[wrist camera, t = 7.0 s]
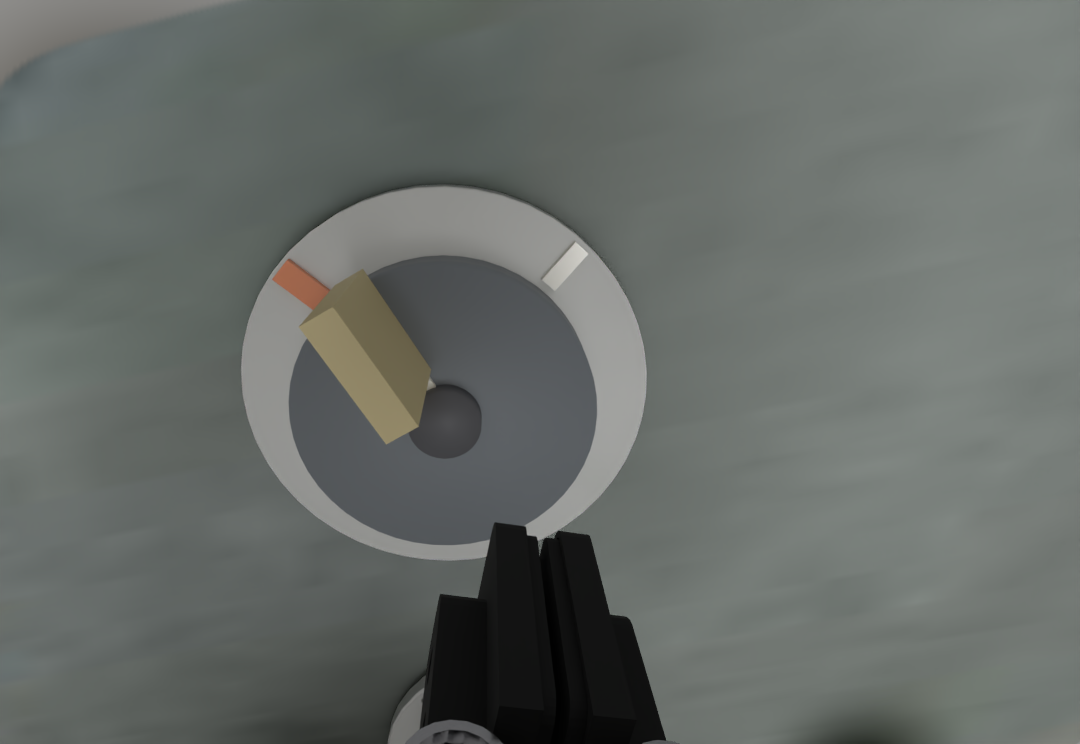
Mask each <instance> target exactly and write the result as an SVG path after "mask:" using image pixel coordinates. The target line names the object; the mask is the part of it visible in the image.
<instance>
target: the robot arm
mask: <svg viewBox="0 0 1080 744" xmlns="http://www.w3.org/2000/svg"><path fill="white" fill-rule="evenodd" d="M388 744H679V743H676V742H673V741H666V738H665V735H664V731H663V728H662V725H661V721H660V718H659V714H658V711H657V708H656V704H655V701H654V697H653V694H652V691H651V687H650V684H649V680H648V677H647V674H646V670H645V667H644V663H643V660H642V657H641V653H640V650H639V646H638V643H637V640H636V636H635V633H634V629H633V626H632V624H631V621H630V619H628V618H627V617H624V616H616V615H610V613H609V609H608V605H607V601H606V597H605V593H604V589H603V585H602V581H601V577H600V573H599V569H598V565H597V562H596V558H595V554H594V550H593V546H592V542H591V538H590V536H589V535H584V534H577V533H570V532H563V531H558V532H557V533H556V535H555V538H554V539H552V538H545V539H544V541H543V545H542V549H541V553H540V557H539V549H538V541H537V537H536V536H530V535H527V530H526V527H525V526H519V525H512V524H505V523H497V522H495V523H494V525H493V528H492V533H491V537H490V542H489V547H488V552H487V557H486V561H485V566H484V571H483V576H482V581H481V586H480V590H479V595H478V599H476V598H468V597H460V596H452V595H444V594H440V597H439V601H438V606H437V611H436V617H435V622H434V628H433V633H432V639H431V645H430V651H429V657H428V664H427V671H426V675H425V676H424V677H423V678H422V679H421V680H420V681H418V682H417V683H416V684H415V685H414V686H413V687H412V688H411V689H410V690H409V691H408V692H407V694H406V695H405V696H404V698H403V699H402V700H401V702H400V703H399V705H398V707H397V709H396V711H395V714H394V716H393V718H392V721H391V727H390V732H389V738H388Z"/></svg>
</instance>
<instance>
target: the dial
mask: <svg viewBox="0 0 1080 744" xmlns="http://www.w3.org/2000/svg"><path fill="white" fill-rule="evenodd" d="M299 328H300V329H301V331H302V332H303V333H304V335H305V336H306V337H307V339H306V341H305V342H304V344H303V346H302V348H301V350H300V353H299V355H298V357H297V360H296V362H295V365H294V369H293V373H292V377H291V381H290V390H289V401H288V403H289V419H290V425H291V430H292V434H293V439H294V442H295V444H296V447H297V450H298V453H299V455H300V457H301V459H302V461H303V463H304V465H305V467H306V469H307V471H308V472H309V474H310V475H311V477H312V478H313V479H314V481H315V482H316V484H317V485H318V486H319V488H320V489H321V490H322V491H323V492H324V493H325V494H326V495H327V496H328V497H329V499H330V500H331V501H332V502H334V503H335V504H336V505H337V506H338V507H340V508H341V509H342V510H343V511H344V512H345V513H347V514H348V515H350V516H351V517H353V518H354V519H356V520H358V521H359V522H361V523H362V524H364V525H366V526H368V527H370V528H372V529H374V530H376V531H378V532H381V533H384V534H386V535H389V536H392V537H394V538H398V539H402V540H406V541H410V542H414V543H422V544H429V545H461V544H471V543H476V542H481V541H486V540H490V537H491V533H492V528H493V525H494V523H495V522H497V523H505V524H512V525H519V526H525V525H526V524H528V523H530V522H531V521H533V520H535V519H536V518H538V517H539V516H540V515H542V514H543V513H544V512H546V511H547V510H548V509H549V508H551V507H552V506H553V505H554V504H555V503H556V502H557V501H558V500H559V499H560V498H561V497H562V496H563V495H564V494H565V493H566V491H567V490H568V489H569V487H570V486H571V485H572V484H573V482H574V481H575V479H576V478H577V476H578V474H579V473H580V471H581V469H582V468H583V466H584V464H585V461H586V459H587V457H588V454H589V452H590V449H591V446H592V442H593V438H594V434H595V429H596V420H597V395H596V389H595V383H594V378H593V375H592V371H591V368H590V365H589V362H588V359H587V357H586V354H585V352H584V349H583V347H582V344H581V342H580V340H579V338H578V336H577V334H576V332H575V330H574V328H573V326H572V325H571V323H570V322H569V320H568V319H567V317H566V316H565V314H564V313H563V311H562V310H561V309H560V308H559V307H558V306H557V305H556V304H555V302H554V301H553V300H552V299H551V298H550V297H549V296H548V295H546V294H545V293H544V292H543V291H542V290H541V289H539V288H538V287H537V286H536V285H534V284H533V283H531V282H530V281H528V280H527V279H525V278H524V277H522V276H520V275H519V274H516V273H514V272H512V271H510V270H508V269H506V268H504V267H502V266H499V265H496V264H493V263H490V262H487V261H484V260H479V259H474V258H468V257H463V256H447V255H439V256H424V257H418V258H413V259H408V260H403V261H400V262H397V263H394V264H391V265H388V266H385V267H383V268H381V269H379V270H377V271H375V272H373V273H371V274H369V275H367V274H366V273H365V271H364V270H363V269H361V270H360V271H358V272H356V273H355V274H353V275H351V276H349V277H348V278H346V279H344V280H343V281H341V282H339V283H338V284H336V285H335V286H334V287H333V288H332V289H331V290H330V291H329V292H328V294H327V295H326V296H325V297H324V298H323V299H322V301H321V302H320V303H319V304H318V305H317V306H316V307H315V309H314V310H313V311H312V312H311V313H310V314H309V315H308V317H307V318H306V319H305V320H304V321H303V322H302V324H301V325H300V326H299Z"/></svg>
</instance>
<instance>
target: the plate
mask: <svg viewBox="0 0 1080 744" xmlns="http://www.w3.org/2000/svg"><path fill="white" fill-rule="evenodd" d="M439 255H447V256H463V257H468V258H474V259H479V260H484V261H487V262H490V263H493V264H496V265H499V266H502V267H504V268H506V269H508V270H510V271H512V272H514V273H516V274H519V275H520V276H522V277H524V278H525V279H527V280H528V281H530V282H531V283H533V284H534V285H536V286H537V287H538V288H539V289H541V290H542V291H543V292H544V293H545V294H546V295H548V296H549V297H550V298H551V299H552V300H553V301H554V302H555V304H556V305H557V306H558V307H559V308H560V309H561V310H562V311H563V313H564V314H565V316H566V317H567V319H568V320H569V322H570V323H571V325H572V326H573V328H574V330H575V332H576V334H577V336H578V338H579V340H580V342H581V344H582V347H583V349H584V352H585V354H586V357H587V359H588V362H589V365H590V368H591V371H592V375H593V378H594V383H595V389H596V395H597V420H596V429H595V434H594V438H593V442H592V446H591V449H590V452H589V454H588V457H587V459H586V461H585V464H584V466H583V468H582V469H581V471H580V473H579V474H578V476H577V478H576V479H575V481H574V482H573V484H572V485H571V486H570V487H569V489H568V490H567V491H566V493H565V494H564V495H563V496H562V497H561V498H560V499H559V500H558V501H557V502H556V503H555V504H554V505H553V506H552V507H551V508H549V509H548V510H547V511H546V512H544V513H543V514H542V515H540V516H539V517H538V518H536V519H535V520H533V521H531V522H530V523H528V524H526V525H525V527H526V530H527V535H530V536H536V537H537V541H539V540H541V539H543V538H545V537H547V536H549V535H550V534H552V533H554V532H556V531H557V530H559V529H561V528H563V527H564V526H566V525H567V524H568V523H570V522H571V521H572V520H574V519H575V518H576V517H578V516H579V515H581V514H582V513H583V512H584V511H585V510H586V509H587V508H588V507H589V506H590V505H591V504H593V503H594V502H595V501H596V500H597V499H598V498H599V497H600V496H601V494H602V493H603V492H604V491H605V489H606V488H607V487H608V486H609V485H610V483H611V482H612V481H613V480H614V478H615V477H616V475H617V473H618V472H619V470H620V469H621V467H622V466H623V464H624V462H625V461H626V459H627V457H628V455H629V452H630V450H631V448H632V446H633V444H634V442H635V439H636V436H637V433H638V430H639V426H640V423H641V420H642V416H643V410H644V404H645V398H646V377H647V369H646V360H645V352H644V345H643V341H642V337H641V333H640V330H639V326H638V322H637V320H636V317H635V315H634V313H633V310H632V308H631V305H630V303H629V301H628V298H627V297H626V295H625V293H624V292H623V290H622V288H621V287H620V285H619V283H618V282H617V280H616V278H615V277H614V275H613V274H612V273H611V271H610V270H609V269H608V267H607V266H606V265H605V264H604V262H603V261H602V260H601V259H600V257H599V256H598V255H597V254H596V252H595V251H594V250H593V249H592V248H591V247H590V246H589V245H588V244H587V243H586V242H585V241H584V240H583V239H582V238H581V237H580V236H579V235H578V234H576V233H575V232H574V231H573V230H572V229H571V228H569V227H568V226H566V225H565V224H564V223H562V222H561V221H559V220H558V219H557V218H555V217H554V216H552V215H551V214H549V213H547V212H545V211H543V210H541V209H540V208H538V207H536V206H534V205H532V204H530V203H528V202H526V201H523V200H520V199H518V198H515V197H512V196H510V195H507V194H504V193H501V192H497V191H492V190H488V189H484V188H479V187H475V186H464V185H453V184H435V185H417V186H412V187H406V188H401V189H395V190H391V191H388V192H385V193H381V194H378V195H375V196H372V197H369V198H366V199H364V200H362V201H360V202H358V203H356V204H354V205H352V206H350V207H348V208H346V209H343V210H341V211H340V212H338V213H337V214H335V215H334V216H332V217H331V218H330V219H328V220H327V221H325V222H324V223H322V224H321V225H319V226H318V227H316V228H315V229H313V230H312V231H311V232H309V233H308V234H307V235H306V236H305V237H304V238H303V239H302V240H300V241H299V242H298V243H297V244H296V245H295V246H294V247H293V248H292V249H291V250H290V251H289V252H288V253H287V254H286V255H285V257H284V258H283V259H282V260H281V262H280V263H279V264H278V265H277V267H276V268H275V269H274V270H273V271H272V273H271V275H270V276H269V278H268V280H267V281H266V283H265V285H264V287H263V288H262V290H261V292H260V293H259V295H258V298H257V300H256V303H255V305H254V308H253V310H252V313H251V315H250V318H249V321H248V325H247V329H246V334H245V338H244V342H243V350H242V363H241V377H242V392H243V398H244V403H245V408H246V412H247V417H248V420H249V423H250V426H251V429H252V431H253V434H254V437H255V440H256V442H257V444H258V446H259V448H260V450H261V452H262V454H263V455H264V457H265V459H266V461H267V463H268V465H269V466H270V467H271V469H272V470H273V472H274V473H275V474H276V476H277V477H278V479H279V480H280V481H281V483H282V484H283V485H284V486H285V487H286V488H287V490H288V491H289V492H290V493H291V494H292V495H293V496H294V497H295V498H296V499H297V500H298V502H300V503H301V504H302V505H303V506H304V507H306V508H307V509H308V510H309V511H310V512H311V513H313V514H314V515H315V516H316V517H317V518H319V519H320V520H322V521H323V522H325V523H326V524H328V525H329V526H331V527H332V528H334V529H335V530H337V531H339V532H341V533H343V534H345V535H347V536H348V537H350V538H352V539H354V540H356V541H358V542H361V543H363V544H366V545H369V546H371V547H374V548H377V549H379V550H382V551H386V552H390V553H394V554H398V555H402V556H406V557H413V558H420V559H427V560H450V561H453V560H467V559H478V558H483V557H487V552H488V547H489V542H490V540H486V541H481V542H476V543H471V544H461V545H429V544H422V543H414V542H410V541H406V540H402V539H398V538H394V537H392V536H389V535H386V534H384V533H381V532H378V531H376V530H374V529H372V528H370V527H368V526H366V525H364V524H362V523H361V522H359V521H358V520H356V519H354V518H353V517H351V516H350V515H348V514H347V513H345V512H344V511H343V510H342V509H341V508H340V507H338V506H337V505H336V504H335V503H334V502H332V501H331V500H330V499H329V497H328V496H327V495H326V494H325V493H324V492H323V491H322V490H321V489H320V488H319V486H318V485H317V484H316V482H315V481H314V479H313V478H312V477H311V475H310V474H309V472H308V471H307V469H306V467H305V465H304V463H303V461H302V459H301V457H300V455H299V453H298V450H297V447H296V444H295V442H294V439H293V434H292V430H291V425H290V419H289V403H288V401H289V390H290V381H291V377H292V373H293V369H294V365H295V362H296V360H297V357H298V355H299V353H300V350H301V348H302V346H303V344H304V342H305V341H306V339H307V337H306V336H305V335H304V333H303V332H302V331H301V329H300V328H299V326H300V325H301V324H302V322H303V321H304V320H305V319H306V318H307V317H308V315H309V314H310V313H311V312H312V311H313V310H314V309H315V307H316V306H317V305H318V304H319V303H320V302H321V301H322V299H323V298H324V297H325V296H326V295H327V294H328V292H329V291H330V290H331V289H332V288H333V287H334V286H335V285H336V284H338V283H339V282H341V281H343V280H344V279H346V278H348V277H349V276H351V275H353V274H355V273H356V272H358V271H360V270H361V269H363V270H364V271H365V273H366V274H367V275H369V274H371V273H373V272H375V271H377V270H379V269H381V268H383V267H385V266H388V265H391V264H394V263H397V262H400V261H403V260H408V259H413V258H418V257H424V256H439Z"/></svg>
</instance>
